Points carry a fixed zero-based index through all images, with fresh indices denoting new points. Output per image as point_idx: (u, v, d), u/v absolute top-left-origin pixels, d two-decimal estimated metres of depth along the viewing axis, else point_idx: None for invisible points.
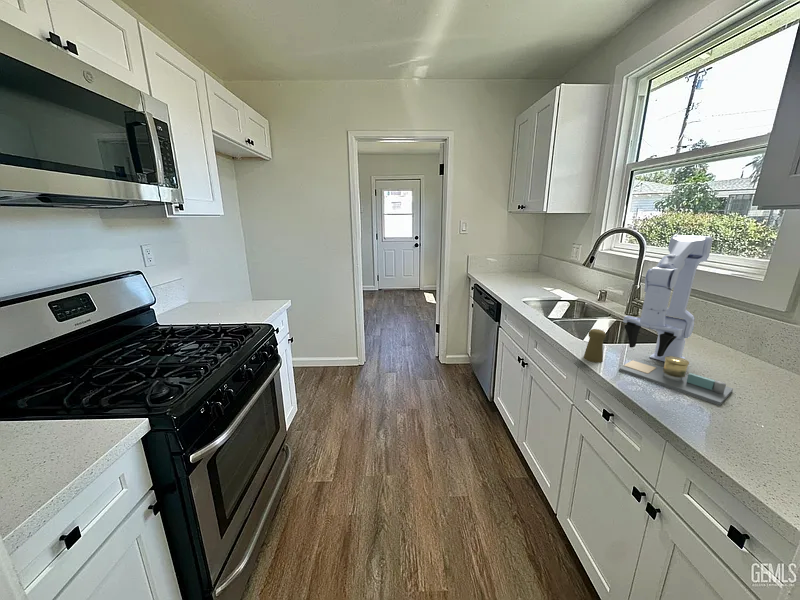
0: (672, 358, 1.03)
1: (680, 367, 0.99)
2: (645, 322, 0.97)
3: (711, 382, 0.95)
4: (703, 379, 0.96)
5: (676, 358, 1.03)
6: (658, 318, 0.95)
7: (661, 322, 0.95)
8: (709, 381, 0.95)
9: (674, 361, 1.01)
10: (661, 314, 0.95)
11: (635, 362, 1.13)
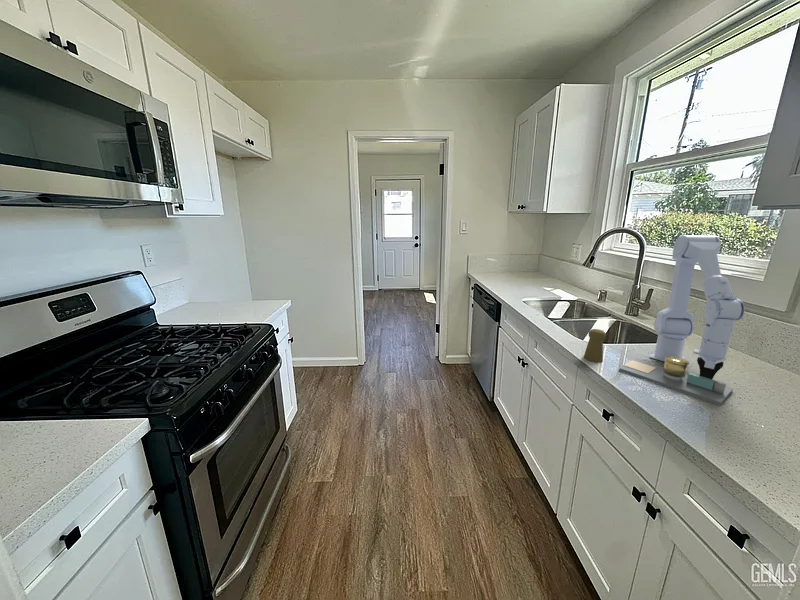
0: (672, 358, 1.03)
1: (680, 367, 0.99)
2: None
3: (711, 382, 0.95)
4: (703, 379, 0.96)
5: (676, 358, 1.03)
6: (704, 347, 0.95)
7: (708, 352, 0.94)
8: (709, 381, 0.95)
9: (674, 361, 1.01)
10: (708, 344, 0.94)
11: (635, 362, 1.13)
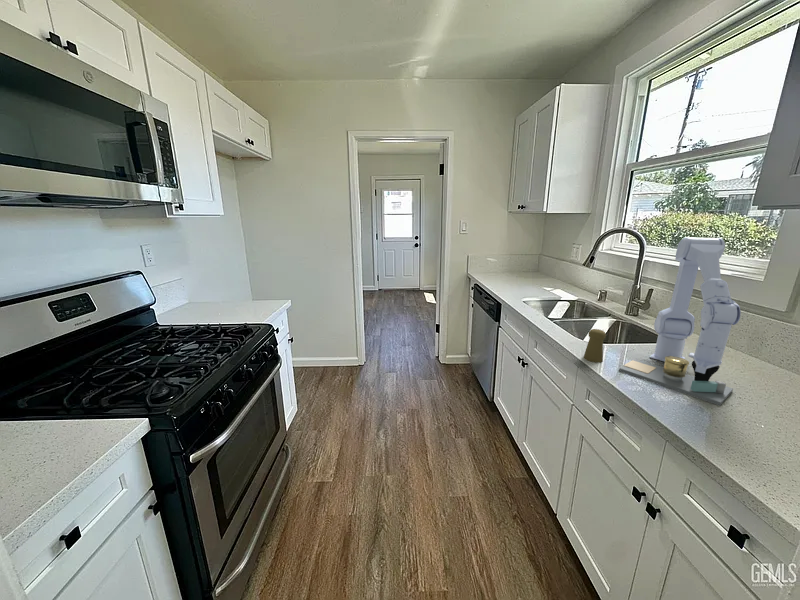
0: (672, 358, 1.03)
1: (680, 367, 0.99)
2: None
3: (715, 385, 0.94)
4: (709, 384, 0.94)
5: (676, 358, 1.03)
6: (699, 350, 0.93)
7: (702, 356, 0.92)
8: (714, 384, 0.94)
9: (674, 361, 1.01)
10: (702, 348, 0.92)
11: (635, 362, 1.13)
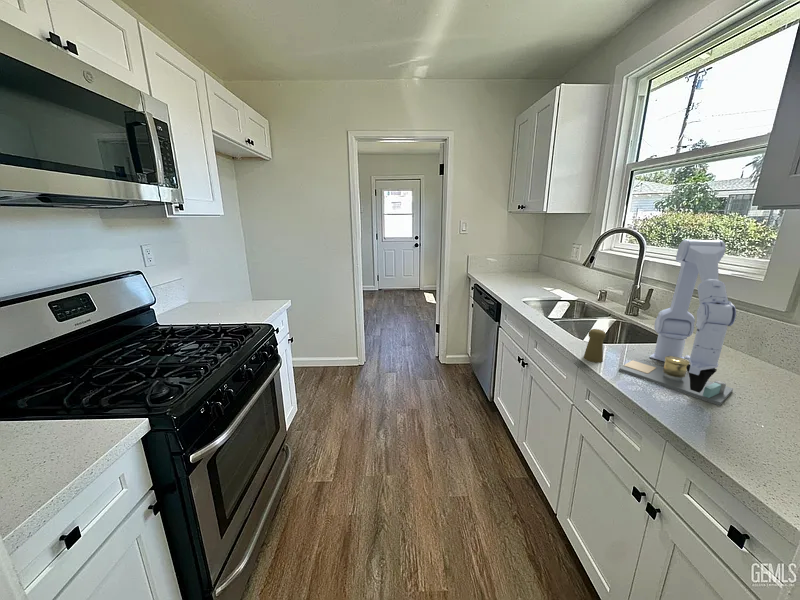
0: (672, 358, 1.03)
1: (680, 367, 0.99)
2: None
3: (720, 386, 0.93)
4: (717, 387, 0.92)
5: (676, 358, 1.03)
6: (694, 352, 0.91)
7: (697, 358, 0.90)
8: (719, 386, 0.93)
9: (674, 361, 1.01)
10: (697, 349, 0.90)
11: (635, 362, 1.13)
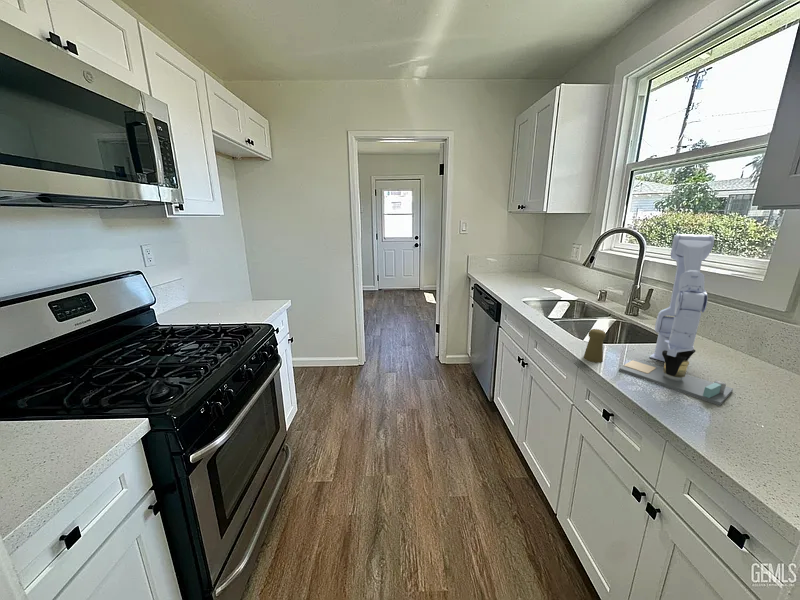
0: None
1: (680, 367, 0.99)
2: None
3: (720, 386, 0.93)
4: (717, 387, 0.92)
5: None
6: (672, 337, 1.00)
7: (675, 342, 0.99)
8: (719, 386, 0.93)
9: None
10: (674, 334, 0.99)
11: (635, 362, 1.13)
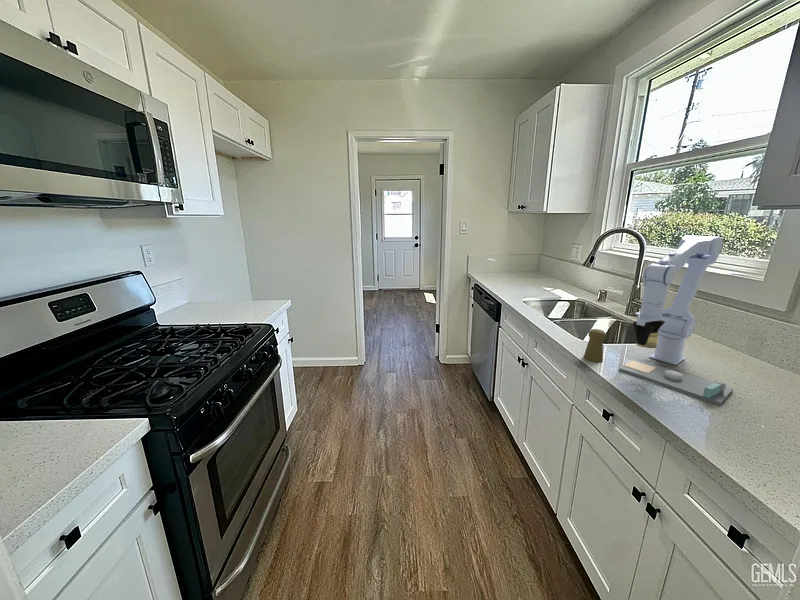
0: None
1: (651, 337, 1.04)
2: None
3: (720, 386, 0.93)
4: (717, 387, 0.92)
5: None
6: (642, 308, 1.05)
7: (644, 313, 1.04)
8: (719, 386, 0.93)
9: None
10: (644, 305, 1.04)
11: (635, 362, 1.13)
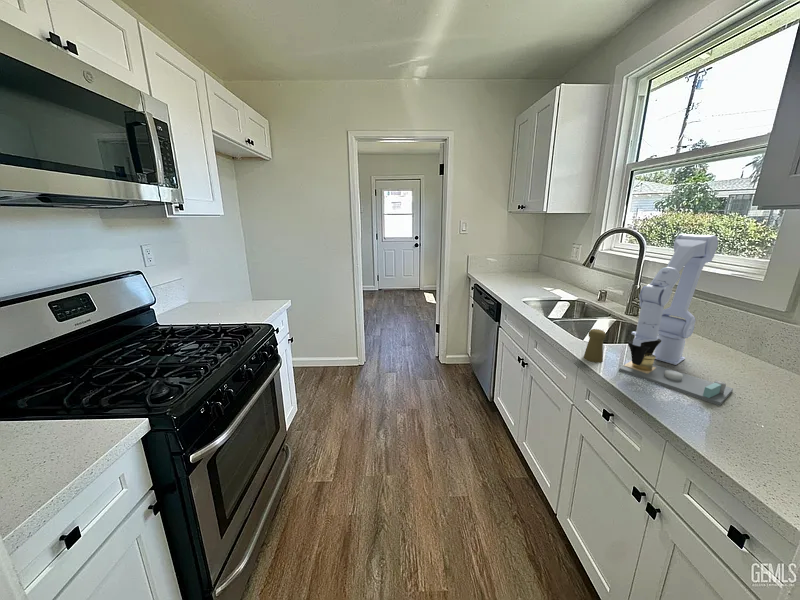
0: None
1: (647, 361, 1.06)
2: None
3: (720, 386, 0.93)
4: (717, 387, 0.92)
5: None
6: (638, 328, 1.07)
7: (640, 333, 1.06)
8: (719, 386, 0.93)
9: None
10: (640, 325, 1.06)
11: None
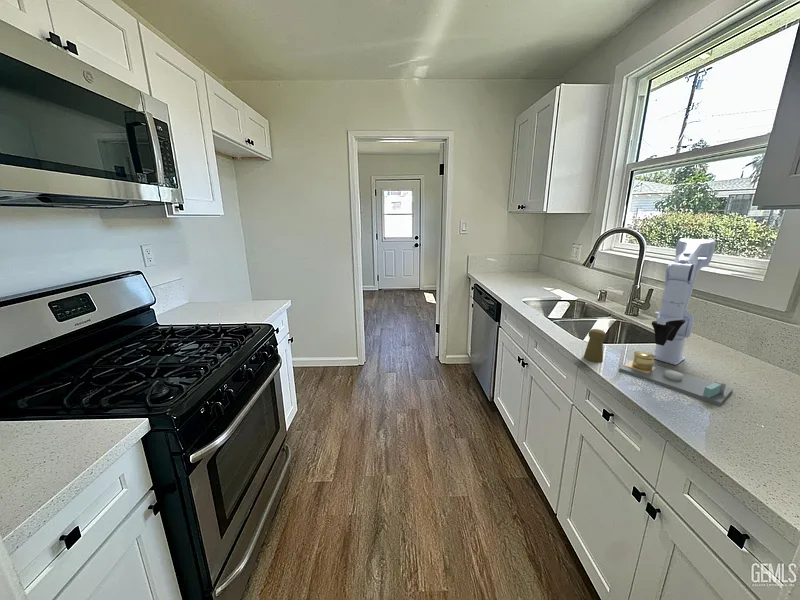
0: (640, 353, 1.10)
1: (646, 361, 1.06)
2: None
3: (720, 386, 0.93)
4: (717, 387, 0.92)
5: (644, 353, 1.10)
6: (662, 307, 1.04)
7: (665, 312, 1.03)
8: (719, 386, 0.93)
9: (641, 355, 1.07)
10: (664, 304, 1.03)
11: None
